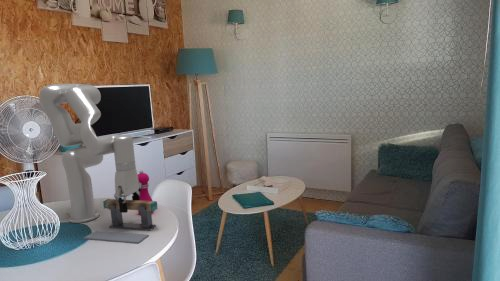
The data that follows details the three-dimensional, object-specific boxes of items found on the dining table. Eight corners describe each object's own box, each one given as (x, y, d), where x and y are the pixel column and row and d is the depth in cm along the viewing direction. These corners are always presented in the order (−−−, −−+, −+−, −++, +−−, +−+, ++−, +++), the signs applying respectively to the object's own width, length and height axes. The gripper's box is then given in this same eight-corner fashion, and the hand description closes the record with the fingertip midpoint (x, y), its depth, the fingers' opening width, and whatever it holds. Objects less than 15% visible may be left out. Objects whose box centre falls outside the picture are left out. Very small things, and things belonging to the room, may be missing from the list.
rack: (108, 228, 157) (105, 204, 155) (116, 223, 162) (114, 200, 160) (149, 231, 151) (146, 206, 149) (156, 226, 156) (153, 202, 154)
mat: (84, 239, 147) (83, 237, 147) (96, 232, 153) (96, 230, 153) (138, 243, 139) (138, 242, 139) (148, 236, 146) (148, 234, 146)
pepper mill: (156, 210, 176) (151, 167, 173) (150, 215, 169) (146, 171, 165) (141, 210, 176) (136, 168, 173) (134, 216, 169) (130, 172, 166)
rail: (103, 208, 157) (103, 201, 157) (108, 205, 160) (107, 199, 159) (153, 211, 150) (152, 203, 150) (157, 208, 153) (156, 201, 152)
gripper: (130, 161, 162) (134, 201, 164) (103, 171, 145) (108, 215, 148) (146, 161, 159) (150, 202, 162) (120, 171, 143) (125, 216, 146)
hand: (130, 208), depth 155 cm, fingers open, 8 cm apart
